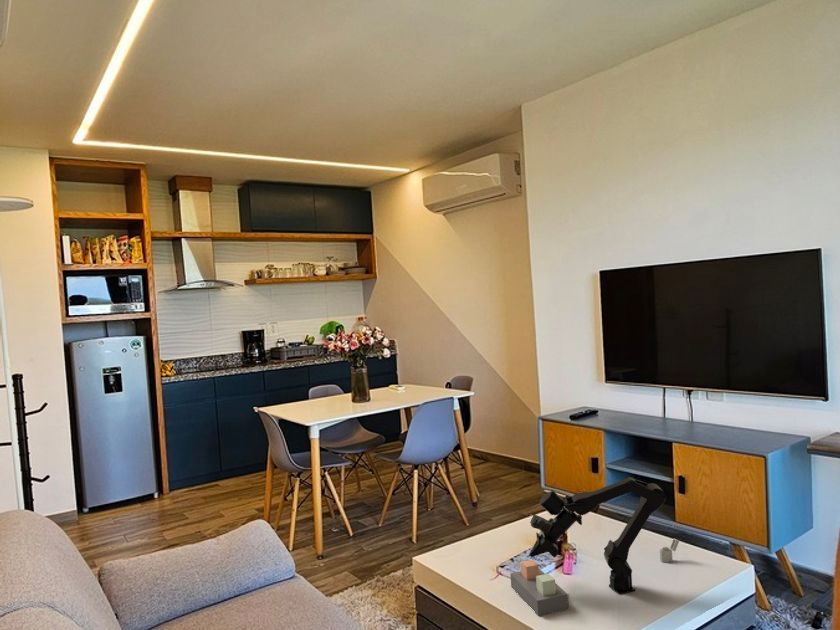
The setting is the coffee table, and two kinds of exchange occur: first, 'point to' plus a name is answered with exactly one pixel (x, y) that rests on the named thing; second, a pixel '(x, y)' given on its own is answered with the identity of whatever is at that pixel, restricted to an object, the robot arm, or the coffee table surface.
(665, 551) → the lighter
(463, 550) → the coffee table surface
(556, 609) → the keypad
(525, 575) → the terracotta key
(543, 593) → the sage key
